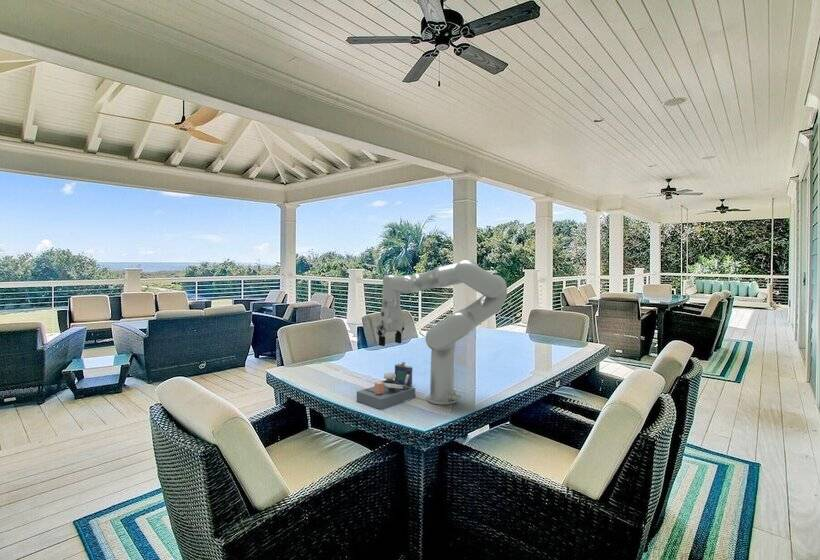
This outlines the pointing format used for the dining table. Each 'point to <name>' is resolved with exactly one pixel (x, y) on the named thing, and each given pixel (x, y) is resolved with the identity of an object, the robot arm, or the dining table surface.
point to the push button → (389, 377)
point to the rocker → (393, 385)
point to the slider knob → (379, 387)
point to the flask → (403, 374)
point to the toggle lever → (407, 377)
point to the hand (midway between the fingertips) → (390, 344)
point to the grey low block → (385, 396)
